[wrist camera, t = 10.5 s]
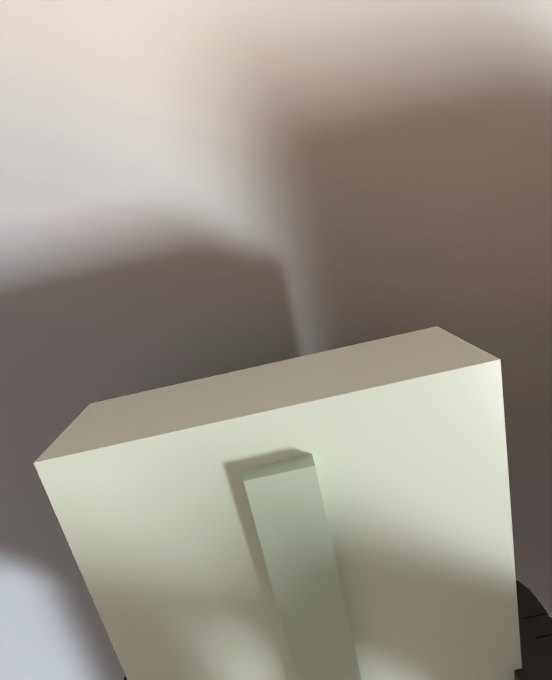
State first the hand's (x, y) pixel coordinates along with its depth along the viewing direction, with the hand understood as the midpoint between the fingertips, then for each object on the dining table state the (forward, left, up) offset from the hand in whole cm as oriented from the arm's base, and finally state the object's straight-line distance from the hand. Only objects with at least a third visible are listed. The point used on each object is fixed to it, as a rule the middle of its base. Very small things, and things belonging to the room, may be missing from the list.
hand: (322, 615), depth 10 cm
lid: (0, 0, +1) cm, 1 cm away
